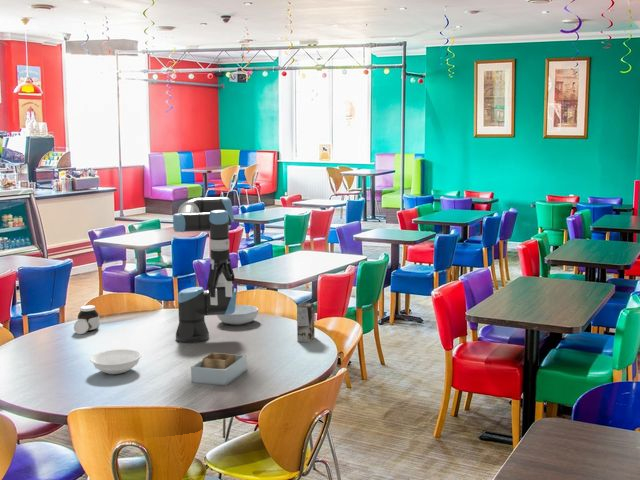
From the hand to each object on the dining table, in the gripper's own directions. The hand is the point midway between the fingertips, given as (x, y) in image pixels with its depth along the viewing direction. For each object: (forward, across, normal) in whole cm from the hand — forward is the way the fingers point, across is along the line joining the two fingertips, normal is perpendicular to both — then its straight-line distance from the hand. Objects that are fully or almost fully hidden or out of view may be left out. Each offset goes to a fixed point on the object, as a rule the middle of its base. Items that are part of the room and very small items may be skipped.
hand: (221, 300), depth 309 cm
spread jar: (+29, +27, +86) cm, 94 cm away
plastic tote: (+26, -15, -6) cm, 31 cm away
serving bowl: (+29, +62, +23) cm, 72 cm away
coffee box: (+28, +43, -20) cm, 55 cm away
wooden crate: (+25, -15, -6) cm, 30 cm away
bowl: (+27, -22, +36) cm, 50 cm away
